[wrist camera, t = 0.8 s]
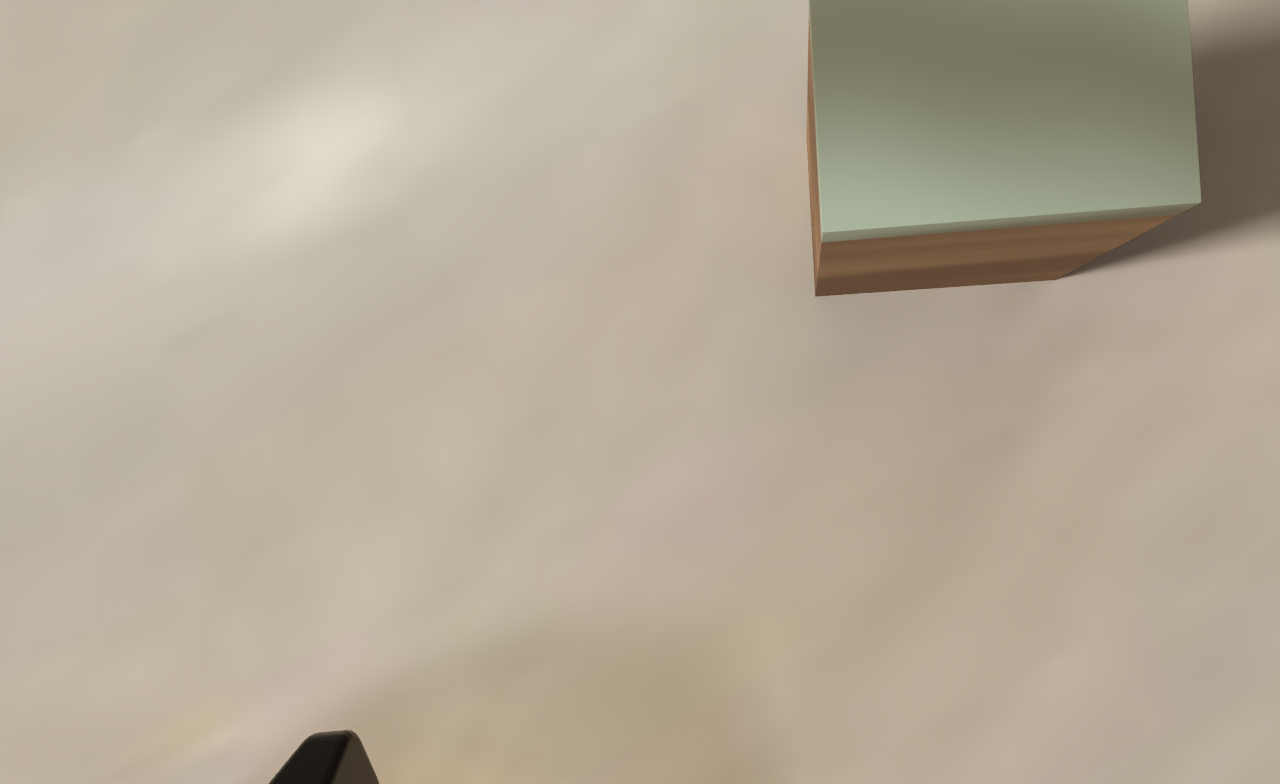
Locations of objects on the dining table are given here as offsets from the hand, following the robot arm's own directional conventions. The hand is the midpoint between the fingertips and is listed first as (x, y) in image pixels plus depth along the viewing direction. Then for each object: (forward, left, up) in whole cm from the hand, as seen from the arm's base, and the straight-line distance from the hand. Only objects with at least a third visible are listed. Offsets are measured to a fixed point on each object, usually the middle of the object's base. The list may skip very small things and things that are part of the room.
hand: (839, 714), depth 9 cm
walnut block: (+7, -3, -12) cm, 14 cm away
